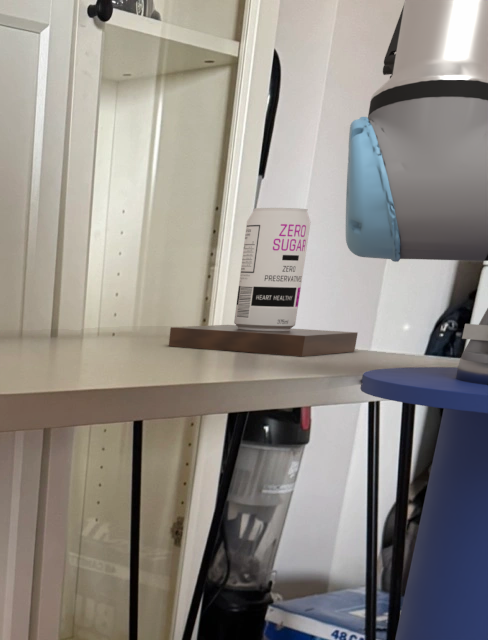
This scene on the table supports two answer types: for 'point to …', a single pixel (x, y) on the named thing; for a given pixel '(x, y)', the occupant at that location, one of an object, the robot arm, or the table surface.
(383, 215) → the robot arm
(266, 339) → the walnut board
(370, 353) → the table surface
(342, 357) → the table surface
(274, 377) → the table surface
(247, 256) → the supplement can
